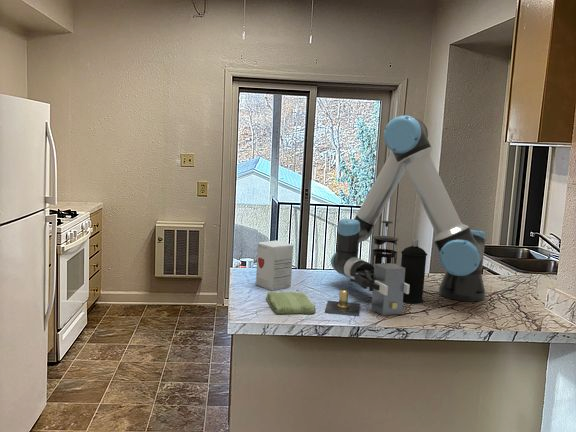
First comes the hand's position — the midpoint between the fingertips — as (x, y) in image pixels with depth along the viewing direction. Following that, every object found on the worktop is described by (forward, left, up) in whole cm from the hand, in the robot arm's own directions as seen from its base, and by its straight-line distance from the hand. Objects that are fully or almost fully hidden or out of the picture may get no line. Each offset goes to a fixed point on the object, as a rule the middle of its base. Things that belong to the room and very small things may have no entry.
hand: (397, 290), depth 157 cm
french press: (+4, -38, -8) cm, 39 cm away
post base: (+16, -2, -8) cm, 18 cm away
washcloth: (+32, -1, -9) cm, 33 cm away
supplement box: (+41, -21, -8) cm, 47 cm away
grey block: (+3, -4, -8) cm, 9 cm away
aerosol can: (-5, -19, -8) cm, 22 cm away
